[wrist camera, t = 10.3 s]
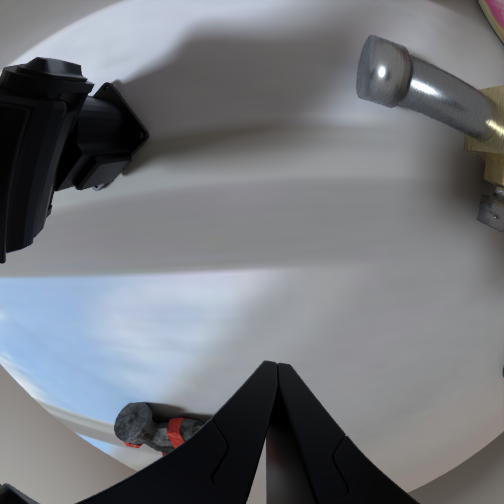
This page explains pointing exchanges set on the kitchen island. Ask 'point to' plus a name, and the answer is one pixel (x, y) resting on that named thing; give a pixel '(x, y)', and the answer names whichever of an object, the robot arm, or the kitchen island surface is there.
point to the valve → (152, 429)
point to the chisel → (491, 213)
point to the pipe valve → (436, 100)
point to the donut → (494, 15)
